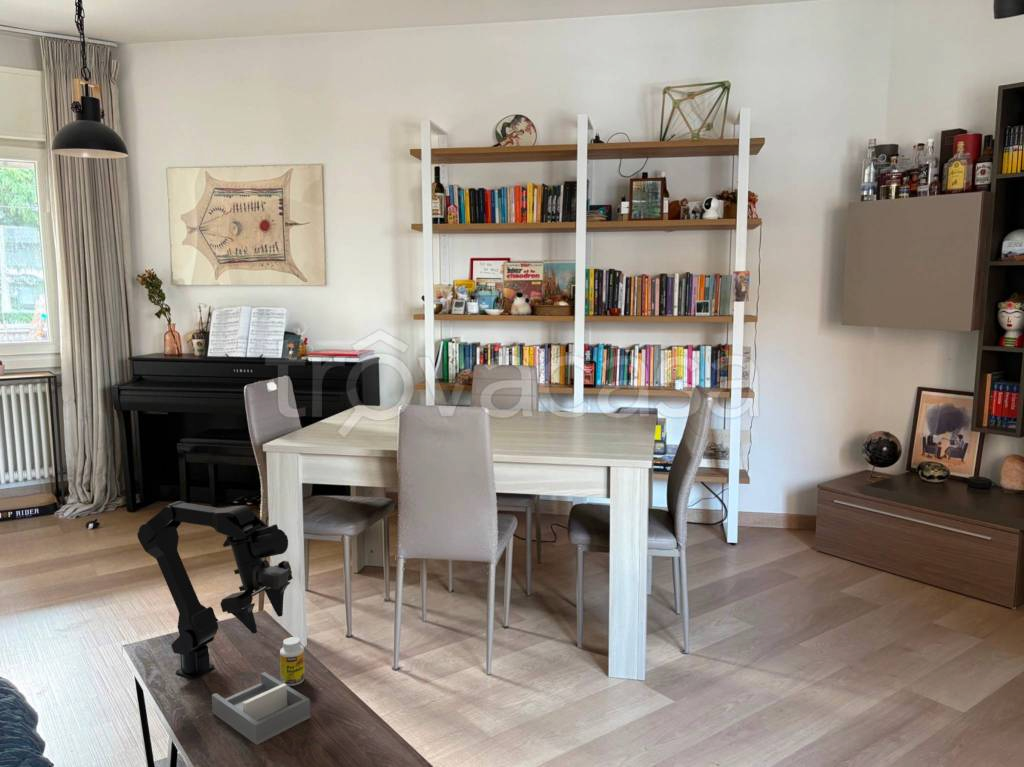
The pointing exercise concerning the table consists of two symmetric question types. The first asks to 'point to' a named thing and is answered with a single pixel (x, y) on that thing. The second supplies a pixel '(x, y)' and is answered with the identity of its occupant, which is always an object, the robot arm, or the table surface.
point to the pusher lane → (266, 726)
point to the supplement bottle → (292, 662)
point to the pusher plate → (266, 702)
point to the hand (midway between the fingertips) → (268, 624)
